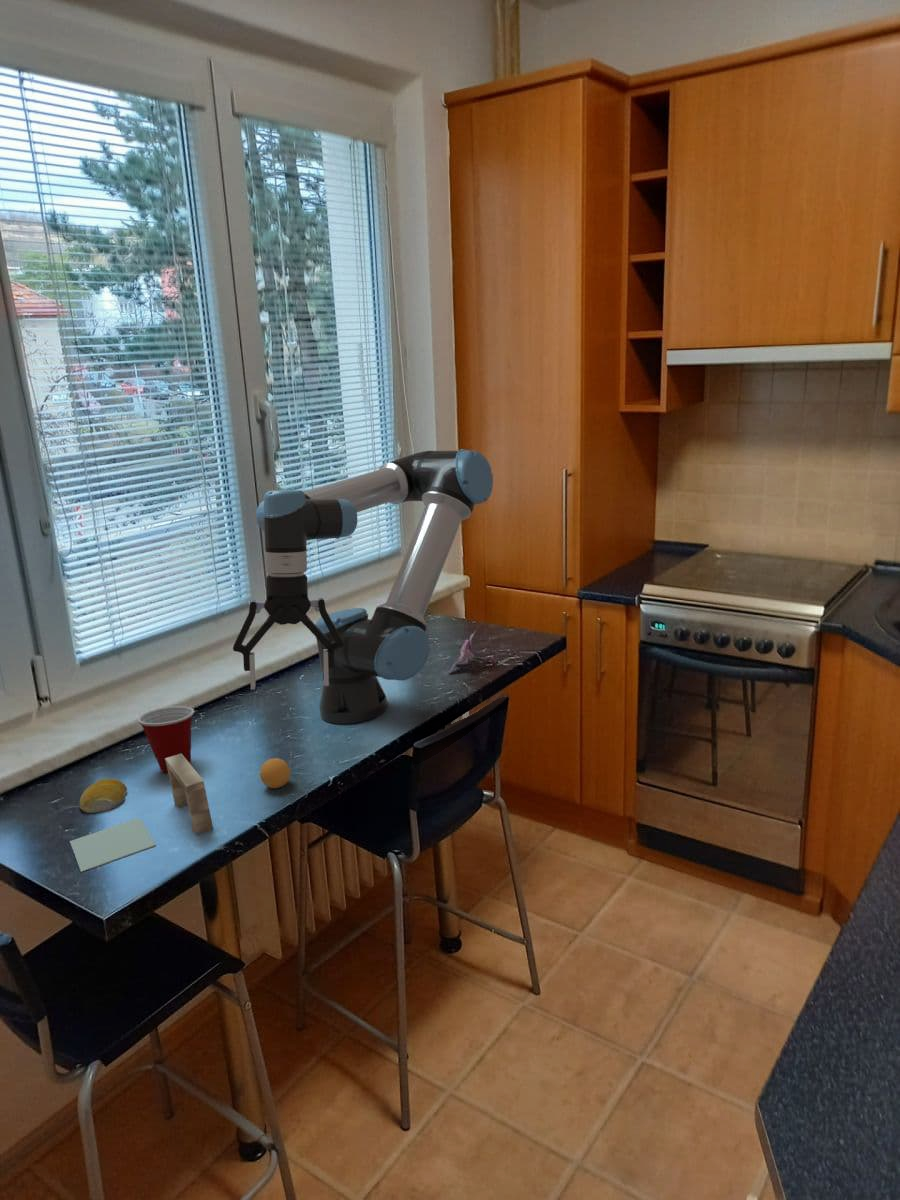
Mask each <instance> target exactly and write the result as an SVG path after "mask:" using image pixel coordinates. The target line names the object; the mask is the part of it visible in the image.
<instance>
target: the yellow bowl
mask: <svg viewBox="0 0 900 1200" xmlns="http://www.w3.org/2000/svg"><path fill="white" fill-rule="evenodd" d="M127 793H128V787H127V786H126V785H125V783H123V782H122V781H120V780H119V779H116V778H104V779H99V780H98V781H95V782H94V783H92V784H91V785H89V786H88V787H87V788H86V789H85V790H84V791H83V792H82V794H81V796H80V799H79V802H78V803H79V807H80V809H81V811H83V812H84V813H88V814H94V813H95V814H96V813H101V812H107V811H110V810H112V809H114V808H116V807H118V806H120V805H121V804H123V802H124V799H125V797H126V794H127Z"/></svg>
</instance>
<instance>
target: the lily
mask: <svg viewBox="0 0 900 1200" xmlns="http://www.w3.org/2000/svg"><path fill="white" fill-rule="evenodd" d="M475 633H476V631H474V632H473V633H472V634H471V635H470V636H469V639H465V641H464V643H463V645H462V647H459V648H458V649H457V650H458V651H459V652H460V656H459V657H458V659H457V661H456V662H455V663H454V664H453V665H452V667H451V669H450V671H449V673H451V672H452V670H453V669H454V667H455V666H456V665H457V664H458V663H459V662H461V661H464V660H466V659H467V660H468V659H469V658H474V659H475V660H476V661H477V662H478V663H479V665H480V666H481V665H483V664H482V663H481V662H480V660H479V659H478V658H477V657H476V656H474V653H473V651H472V639H473V637H474V635H475Z"/></svg>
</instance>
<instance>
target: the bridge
mask: <svg viewBox="0 0 900 1200" xmlns="http://www.w3.org/2000/svg"><path fill="white" fill-rule="evenodd" d="M165 760H166V765H167V770H168V774H167V775H168V777H169V778H168V779H169V783H170V788H171V793H172V797H173V801H174V805H175V807H178V808H180V807H183V806H186V805H187V808H188V812H189V818H190V823H191V827H192V828H191V829H192V832H193V833H194V834H195V835H196V836H197V835H200V834H203V833H206V832H209V831H211V830H213V829H214V826H213V822H212V821H213V820H212V816H211V810H210V807H209V801H208V796H207V791H206V785H205V780H204V779H203V778H202V777H201V776H200V774H199V773H198V772H197V771H196V770H195V768H194V767H193V766H192V764H191V765H190V763H189V762H188V761H187V760H186V758H185V757H184V756H183V755H182V753H181V754H178V755H175V756H171V757H168V758H165ZM208 830H209V831H208Z"/></svg>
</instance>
